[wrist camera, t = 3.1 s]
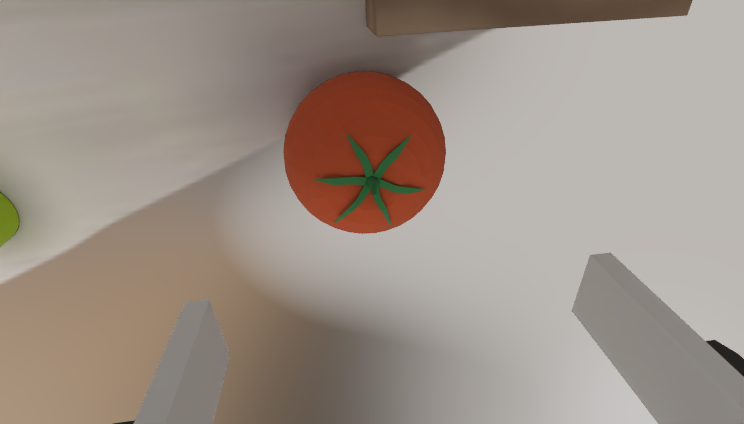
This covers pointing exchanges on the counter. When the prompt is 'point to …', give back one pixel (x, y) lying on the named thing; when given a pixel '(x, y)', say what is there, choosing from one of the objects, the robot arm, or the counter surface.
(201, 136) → the counter surface
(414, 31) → the walnut box
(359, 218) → the tomato
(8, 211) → the soap dispenser
